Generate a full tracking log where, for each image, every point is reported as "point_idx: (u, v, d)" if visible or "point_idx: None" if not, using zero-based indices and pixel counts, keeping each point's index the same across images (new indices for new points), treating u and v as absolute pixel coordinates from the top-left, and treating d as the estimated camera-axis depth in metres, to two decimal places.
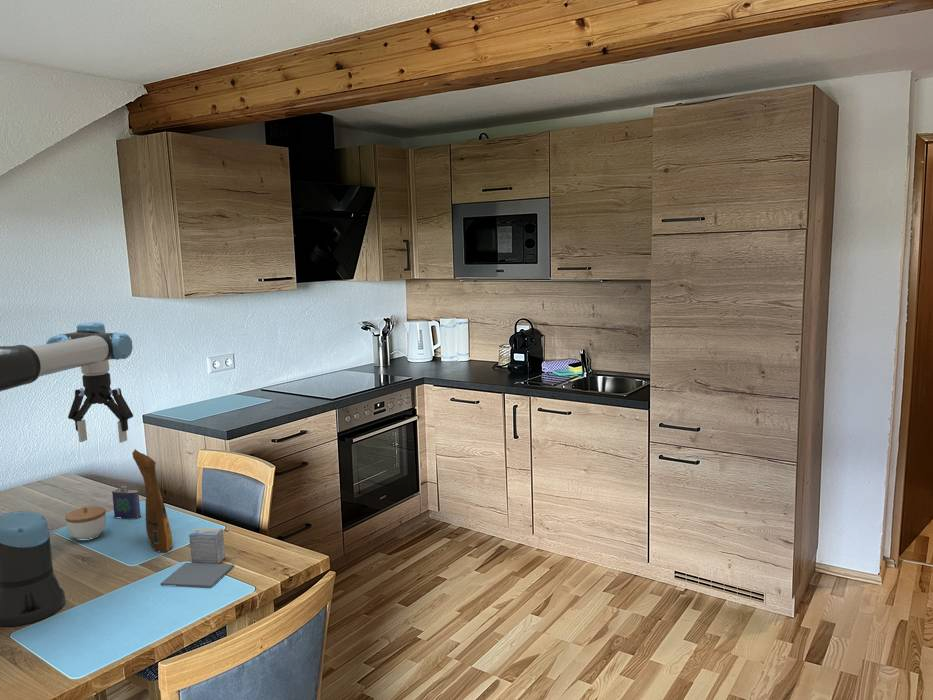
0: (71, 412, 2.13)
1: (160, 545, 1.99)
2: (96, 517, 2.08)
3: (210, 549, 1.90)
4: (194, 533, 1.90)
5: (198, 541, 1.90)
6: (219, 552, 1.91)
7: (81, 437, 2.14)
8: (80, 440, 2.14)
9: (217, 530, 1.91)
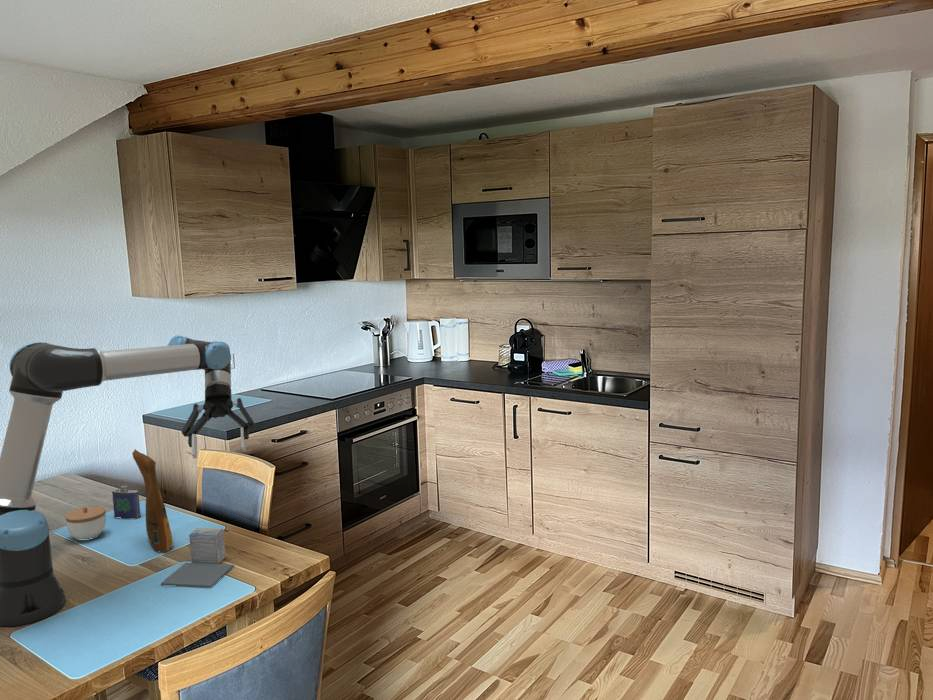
0: (186, 426, 2.02)
1: (160, 545, 1.99)
2: (96, 517, 2.08)
3: (210, 549, 1.90)
4: (194, 533, 1.90)
5: (198, 541, 1.90)
6: (219, 552, 1.91)
7: (194, 450, 1.98)
8: (193, 452, 1.97)
9: (217, 530, 1.91)
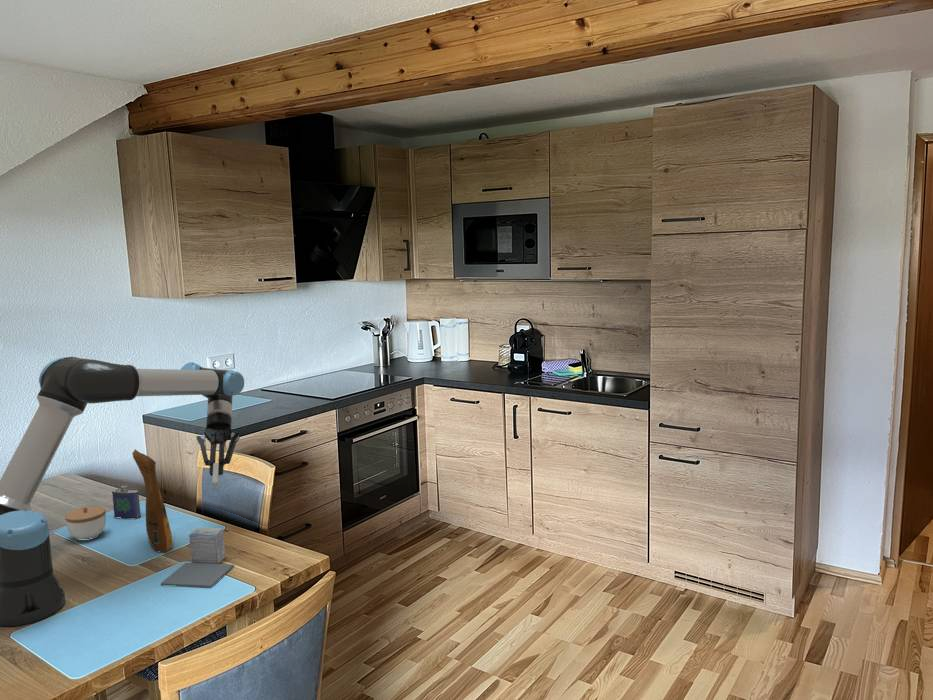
0: (204, 455, 2.13)
1: (160, 545, 1.99)
2: (96, 517, 2.08)
3: (210, 549, 1.90)
4: (194, 533, 1.90)
5: (198, 541, 1.90)
6: (219, 552, 1.91)
7: (215, 478, 2.09)
8: (214, 480, 2.08)
9: (217, 530, 1.91)
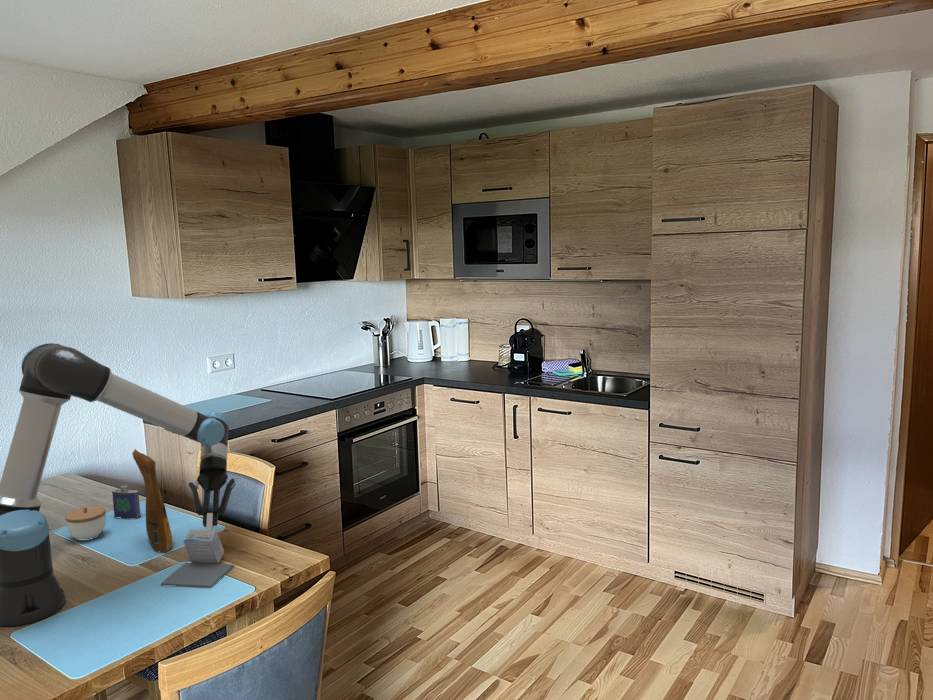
0: (197, 504, 1.96)
1: (160, 545, 1.99)
2: (96, 517, 2.08)
3: (208, 552, 1.88)
4: (188, 539, 1.87)
5: (193, 546, 1.87)
6: (217, 554, 1.89)
7: None
8: None
9: (211, 534, 1.88)
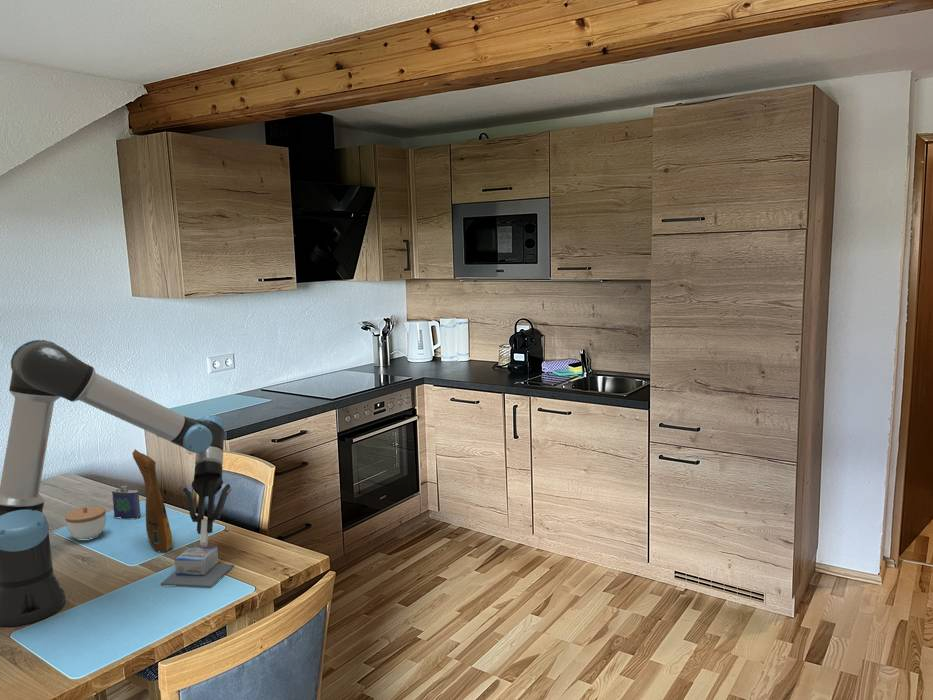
0: (191, 510, 1.90)
1: (160, 545, 1.99)
2: (96, 517, 2.08)
3: None
4: (180, 573, 1.82)
5: None
6: (213, 562, 1.87)
7: (203, 537, 1.86)
8: (201, 540, 1.86)
9: (199, 566, 1.81)
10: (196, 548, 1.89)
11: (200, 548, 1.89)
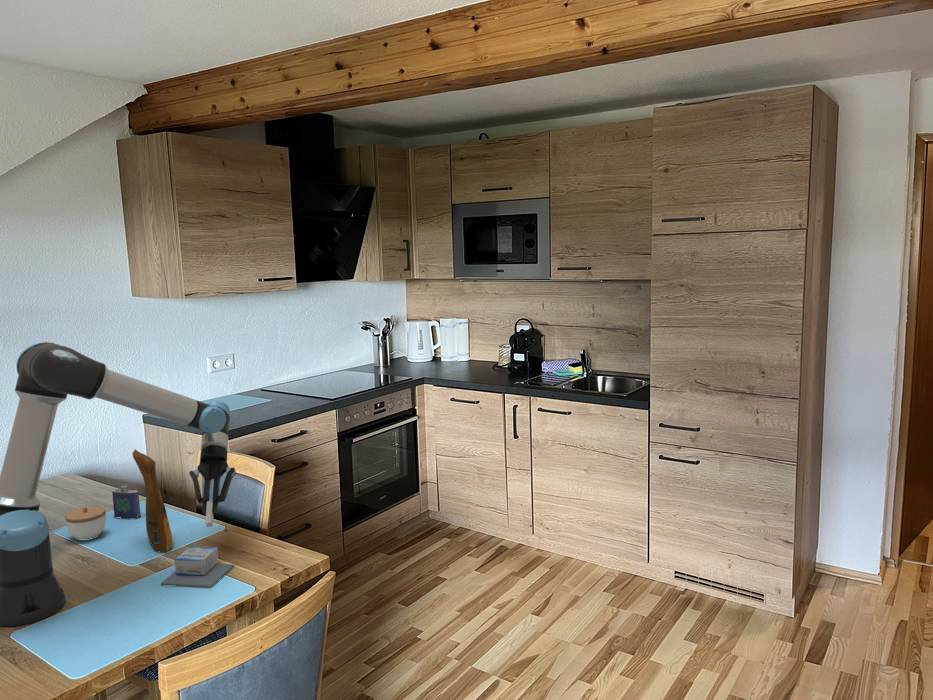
0: (197, 492, 1.97)
1: (160, 545, 1.99)
2: (96, 517, 2.08)
3: None
4: (180, 573, 1.82)
5: None
6: (213, 562, 1.87)
7: (208, 518, 1.93)
8: (207, 521, 1.92)
9: (199, 566, 1.81)
10: (196, 548, 1.89)
11: (200, 548, 1.89)
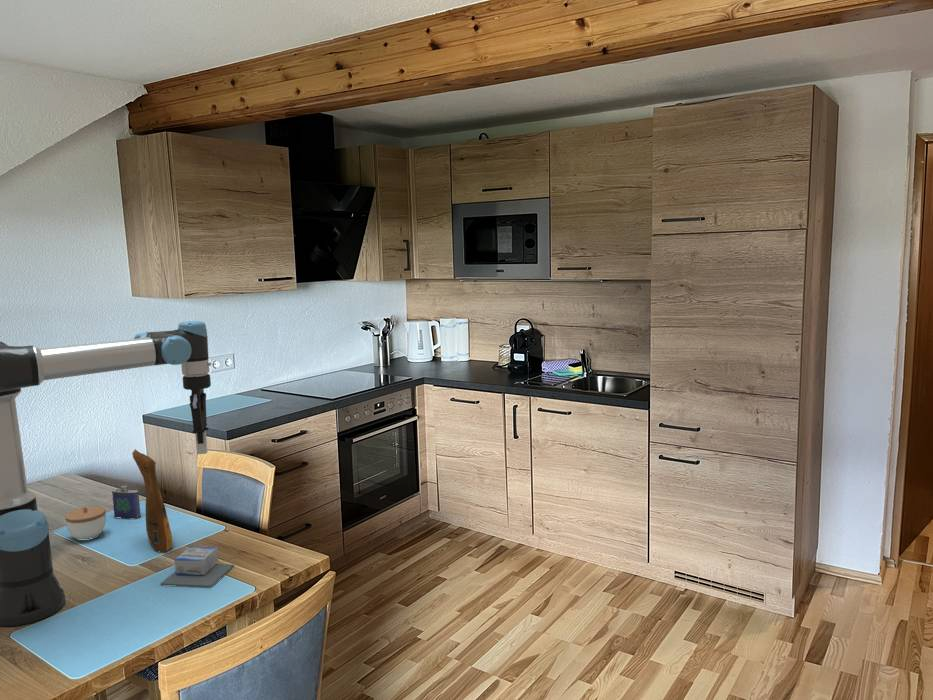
0: None
1: (160, 545, 1.99)
2: (96, 517, 2.08)
3: None
4: (180, 573, 1.82)
5: None
6: (213, 562, 1.87)
7: None
8: None
9: (199, 566, 1.81)
10: (196, 548, 1.89)
11: (200, 548, 1.89)
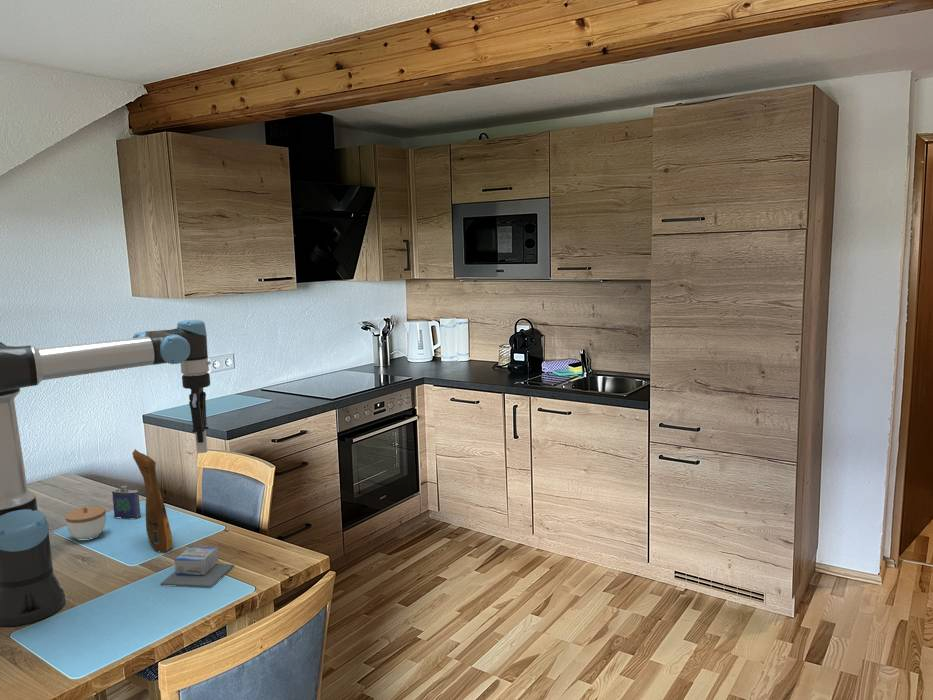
0: None
1: (160, 545, 1.99)
2: (96, 517, 2.08)
3: None
4: (180, 573, 1.82)
5: None
6: (213, 562, 1.87)
7: None
8: None
9: (199, 566, 1.81)
10: (196, 548, 1.89)
11: (200, 548, 1.89)
